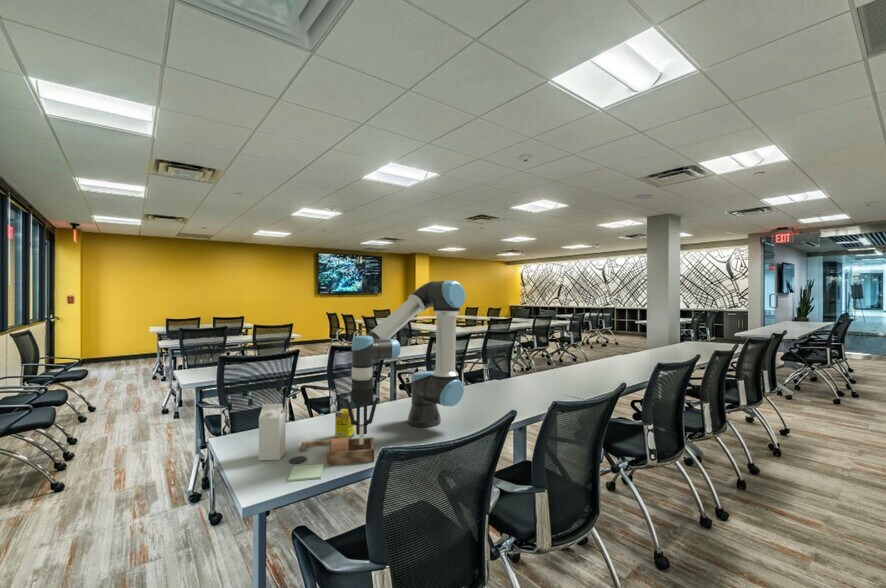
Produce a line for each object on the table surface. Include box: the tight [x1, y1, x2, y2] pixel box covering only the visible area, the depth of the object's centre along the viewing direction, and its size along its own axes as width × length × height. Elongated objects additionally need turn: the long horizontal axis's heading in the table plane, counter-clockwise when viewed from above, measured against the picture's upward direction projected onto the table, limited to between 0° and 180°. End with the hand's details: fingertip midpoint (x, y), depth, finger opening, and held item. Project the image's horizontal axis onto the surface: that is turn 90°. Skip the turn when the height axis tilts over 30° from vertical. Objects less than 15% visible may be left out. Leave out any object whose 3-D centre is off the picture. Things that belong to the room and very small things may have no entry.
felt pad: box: [287, 463, 325, 482], centre depth 133 cm, size 10×10×1 cm
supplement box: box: [334, 408, 355, 439], centre depth 166 cm, size 6×6×11 cm
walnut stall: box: [326, 436, 375, 466], centre depth 147 cm, size 16×13×4 cm
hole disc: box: [288, 455, 308, 465], centre depth 143 cm, size 6×6×1 cm
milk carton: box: [258, 403, 286, 461], centre depth 147 cm, size 7×7×19 cm
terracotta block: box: [330, 437, 349, 452], centre depth 146 cm, size 6×6×6 cm
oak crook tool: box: [299, 439, 331, 453], centre depth 156 cm, size 14×6×2 cm, turn 104°
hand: (361, 443), depth 147 cm, fingers closed
